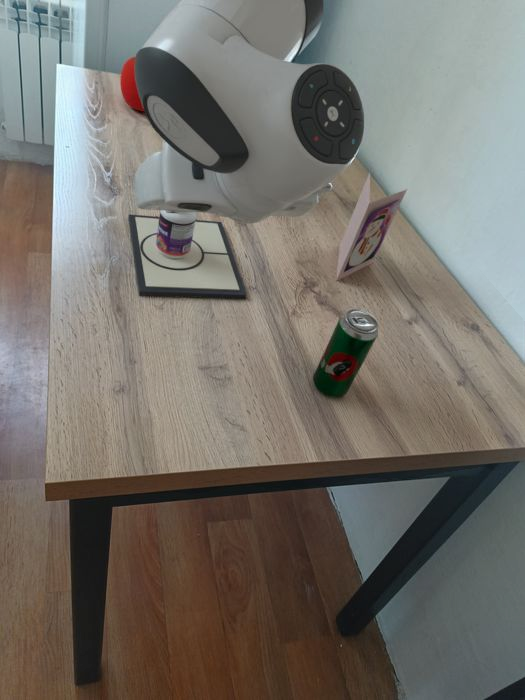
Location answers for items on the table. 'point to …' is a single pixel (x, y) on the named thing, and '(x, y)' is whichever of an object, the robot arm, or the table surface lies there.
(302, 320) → the table surface
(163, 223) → the pill bottle
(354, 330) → the soda can
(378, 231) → the greeting card
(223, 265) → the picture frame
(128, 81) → the tomato
